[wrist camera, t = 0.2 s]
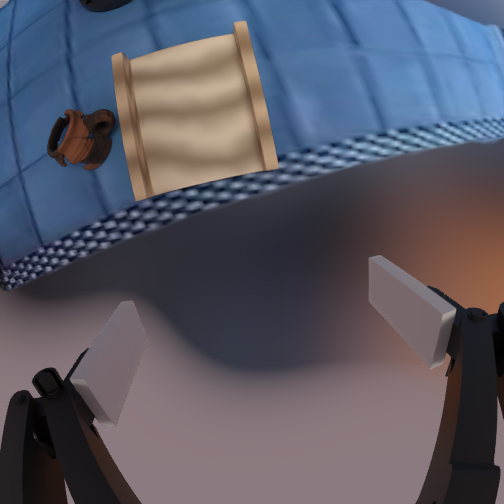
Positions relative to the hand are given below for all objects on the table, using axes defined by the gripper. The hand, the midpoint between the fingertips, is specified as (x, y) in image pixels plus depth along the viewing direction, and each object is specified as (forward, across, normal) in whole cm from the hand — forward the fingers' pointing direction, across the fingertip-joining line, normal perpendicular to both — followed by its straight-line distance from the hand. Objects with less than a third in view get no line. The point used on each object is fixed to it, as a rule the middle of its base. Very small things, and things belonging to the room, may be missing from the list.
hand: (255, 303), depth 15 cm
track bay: (+28, -4, +17) cm, 32 cm away
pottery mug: (+28, -20, +17) cm, 38 cm away
